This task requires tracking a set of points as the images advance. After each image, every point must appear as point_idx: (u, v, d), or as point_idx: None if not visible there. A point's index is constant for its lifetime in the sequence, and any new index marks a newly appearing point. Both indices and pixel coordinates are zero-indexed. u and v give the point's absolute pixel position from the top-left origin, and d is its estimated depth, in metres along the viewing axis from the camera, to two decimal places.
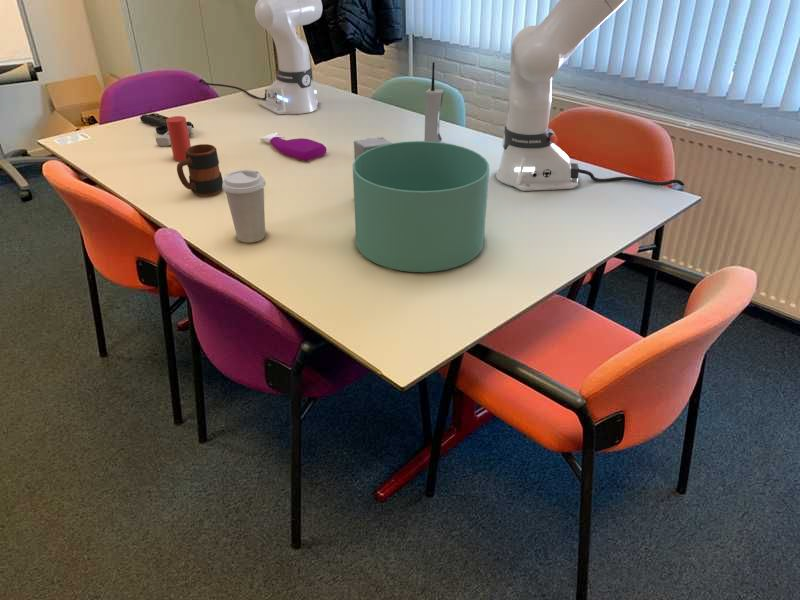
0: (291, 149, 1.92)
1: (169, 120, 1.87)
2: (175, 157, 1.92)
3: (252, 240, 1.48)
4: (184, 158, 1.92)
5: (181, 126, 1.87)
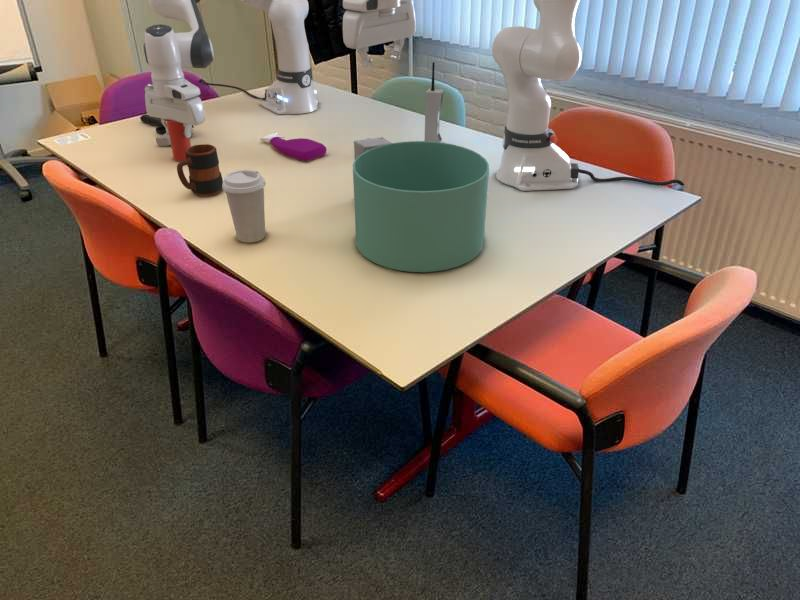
0: (291, 149, 1.92)
1: (168, 120, 1.87)
2: (175, 157, 1.92)
3: (252, 240, 1.48)
4: (184, 158, 1.92)
5: (181, 126, 1.87)
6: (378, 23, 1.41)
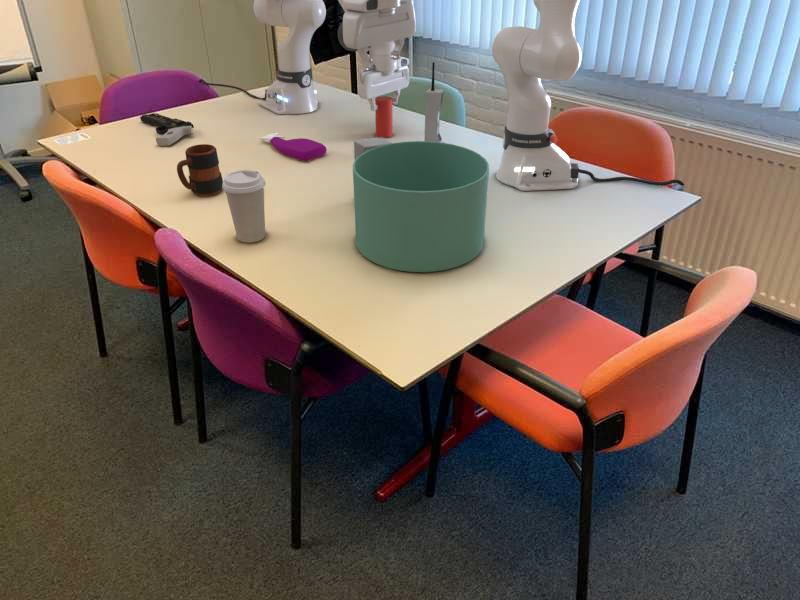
0: (291, 149, 1.92)
1: (386, 100, 2.04)
2: (389, 134, 2.10)
3: (252, 240, 1.48)
4: None
5: None
6: (378, 23, 1.41)
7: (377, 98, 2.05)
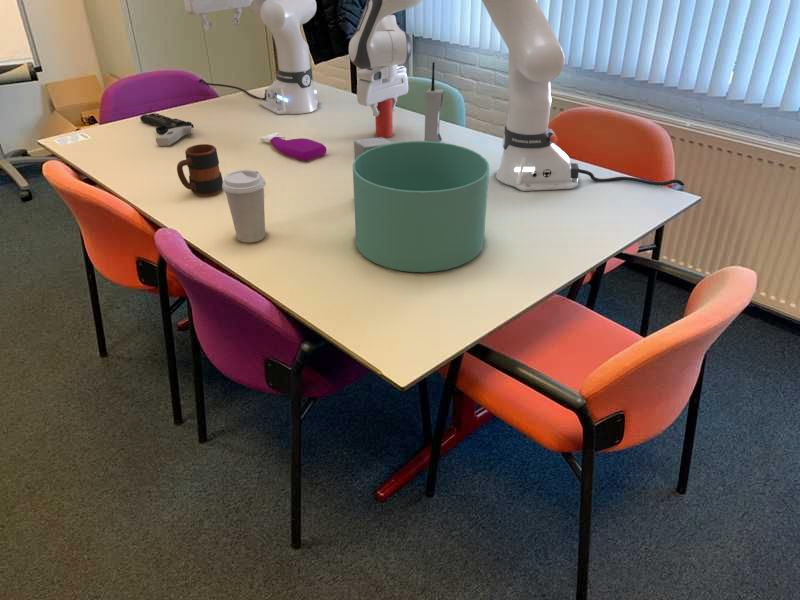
0: (291, 149, 1.92)
1: (386, 100, 2.04)
2: (389, 134, 2.10)
3: (252, 240, 1.48)
4: None
5: None
6: (382, 87, 2.01)
7: None
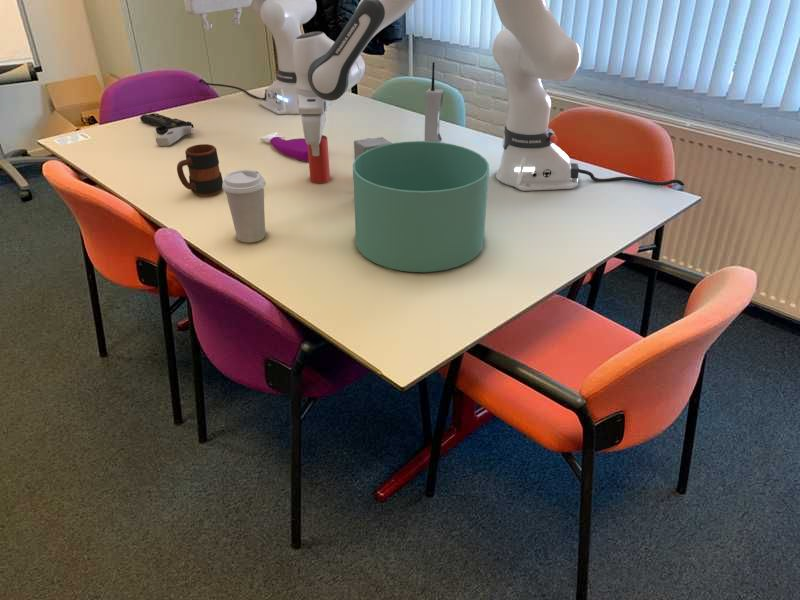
0: (291, 149, 1.92)
1: (323, 139, 1.73)
2: (329, 176, 1.80)
3: (252, 240, 1.48)
4: None
5: None
6: None
7: None
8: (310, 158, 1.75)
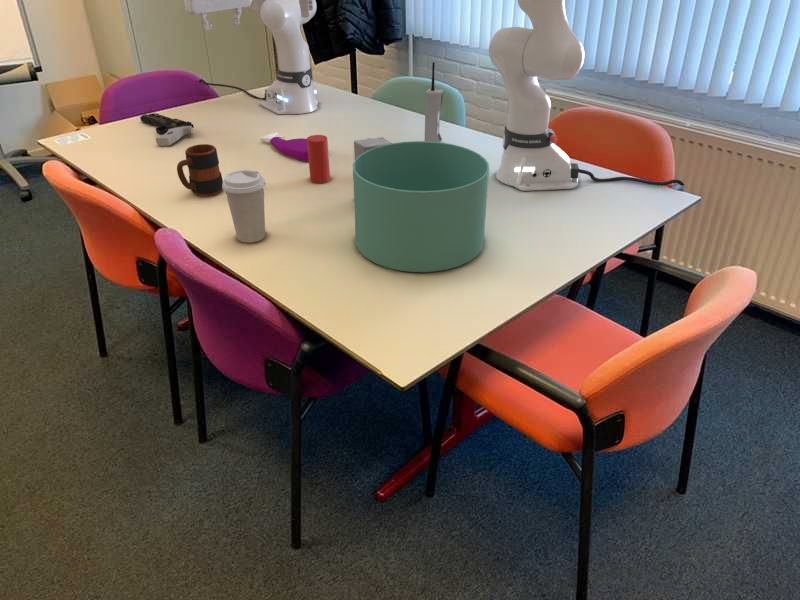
0: (291, 149, 1.92)
1: (323, 139, 1.73)
2: (329, 176, 1.80)
3: (252, 240, 1.48)
4: None
5: None
6: None
7: (310, 139, 1.73)
8: (310, 158, 1.75)
